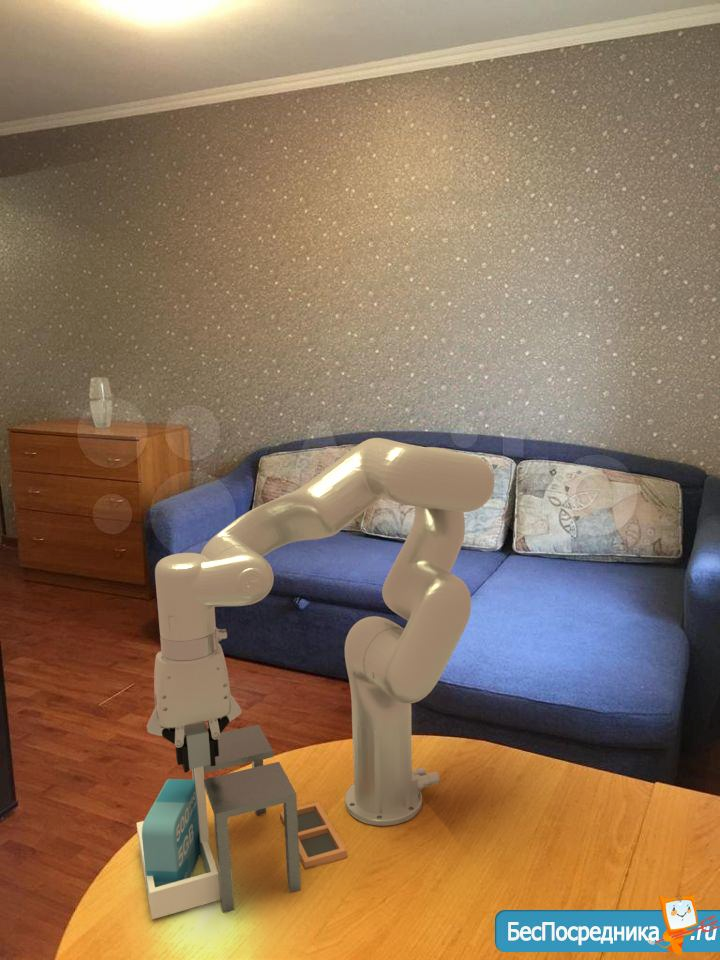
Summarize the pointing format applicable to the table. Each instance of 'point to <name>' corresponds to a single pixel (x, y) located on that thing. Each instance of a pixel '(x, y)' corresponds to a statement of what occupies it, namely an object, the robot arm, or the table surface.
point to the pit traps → (316, 837)
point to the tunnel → (249, 800)
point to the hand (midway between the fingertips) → (198, 763)
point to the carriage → (206, 884)
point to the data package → (172, 833)
